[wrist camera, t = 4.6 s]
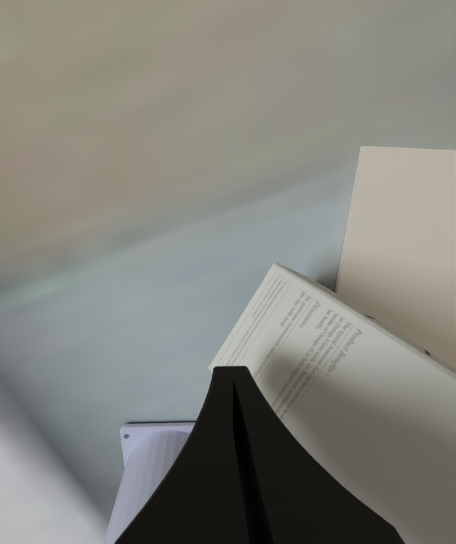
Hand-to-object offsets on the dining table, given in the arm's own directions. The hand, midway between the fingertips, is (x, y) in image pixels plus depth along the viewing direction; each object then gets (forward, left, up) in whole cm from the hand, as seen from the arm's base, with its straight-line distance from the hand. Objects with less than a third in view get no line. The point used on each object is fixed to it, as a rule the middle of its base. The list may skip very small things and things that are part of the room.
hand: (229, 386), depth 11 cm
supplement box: (-1, -3, -7) cm, 7 cm away
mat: (0, -15, -9) cm, 18 cm away
